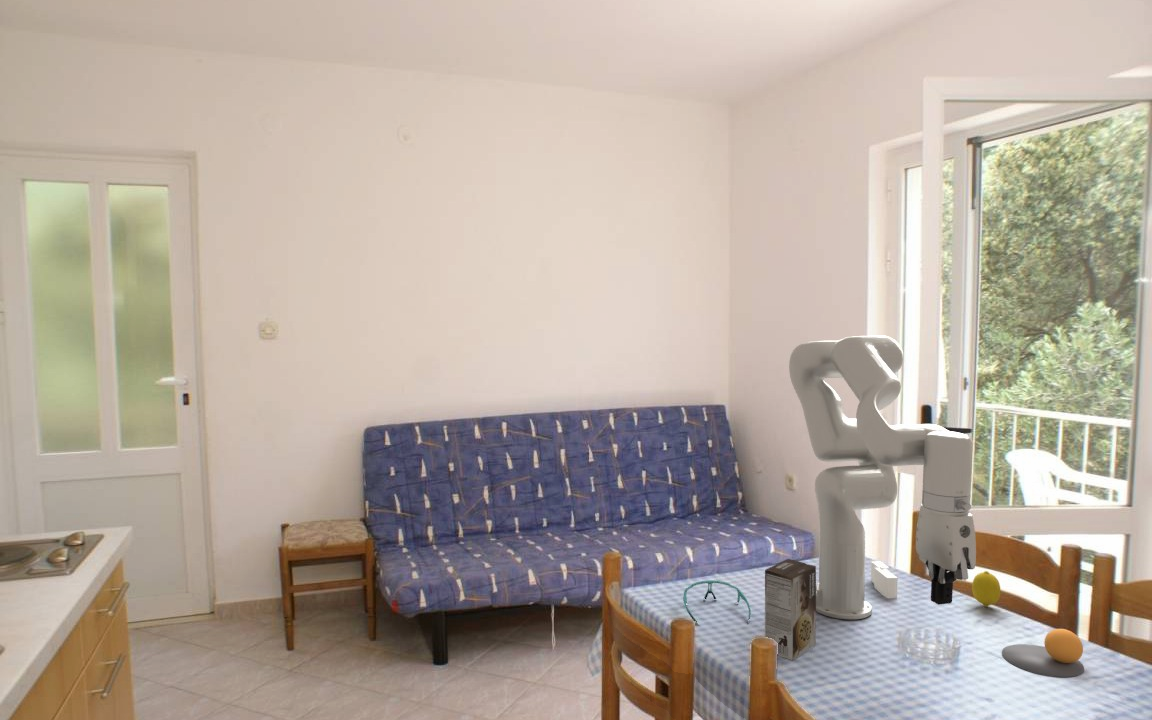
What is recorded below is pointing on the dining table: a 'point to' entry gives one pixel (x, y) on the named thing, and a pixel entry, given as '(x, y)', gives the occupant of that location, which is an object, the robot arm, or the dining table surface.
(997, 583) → the lemon
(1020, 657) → the gray round disc
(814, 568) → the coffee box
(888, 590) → the napkin holder
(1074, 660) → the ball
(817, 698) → the dining table surface
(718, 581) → the safety glasses
